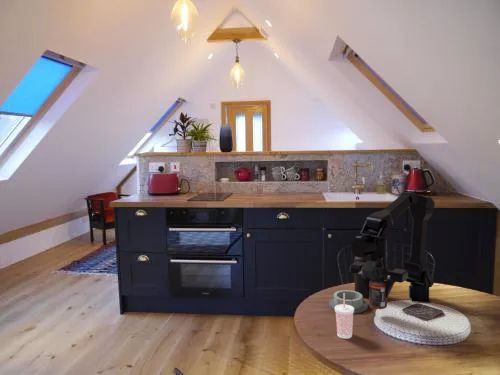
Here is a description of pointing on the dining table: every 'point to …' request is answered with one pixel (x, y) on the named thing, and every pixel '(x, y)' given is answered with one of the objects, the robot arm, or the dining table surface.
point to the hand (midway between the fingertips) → (378, 295)
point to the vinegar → (360, 279)
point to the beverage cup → (344, 319)
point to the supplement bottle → (377, 293)
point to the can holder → (349, 300)
